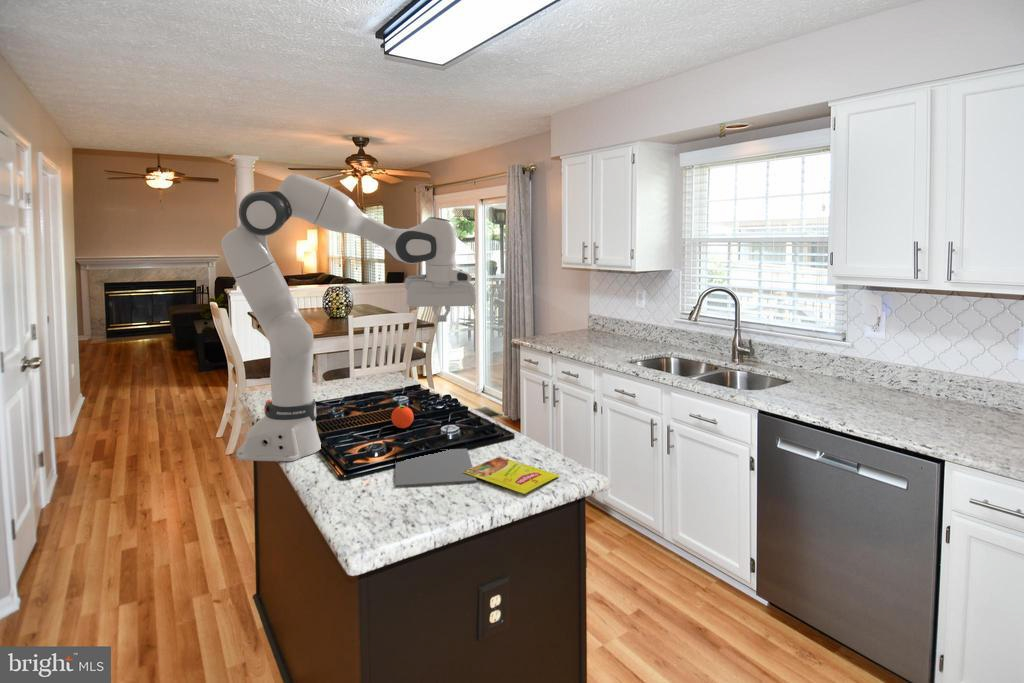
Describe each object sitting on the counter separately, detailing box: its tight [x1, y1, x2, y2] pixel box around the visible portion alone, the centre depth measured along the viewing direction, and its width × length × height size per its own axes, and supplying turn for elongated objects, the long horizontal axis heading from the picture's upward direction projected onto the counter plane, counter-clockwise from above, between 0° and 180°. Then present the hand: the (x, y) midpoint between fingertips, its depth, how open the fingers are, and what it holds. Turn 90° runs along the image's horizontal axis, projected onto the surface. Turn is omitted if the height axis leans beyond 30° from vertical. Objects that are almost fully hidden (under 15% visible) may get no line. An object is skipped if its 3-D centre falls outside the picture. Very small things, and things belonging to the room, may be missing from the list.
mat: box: [394, 448, 477, 488], centre depth 165 cm, size 20×22×1 cm
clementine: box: [390, 405, 415, 429], centre depth 196 cm, size 8×7×7 cm
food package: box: [463, 456, 561, 494], centre depth 160 cm, size 15×1×20 cm
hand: (441, 321), depth 183 cm, fingers closed
